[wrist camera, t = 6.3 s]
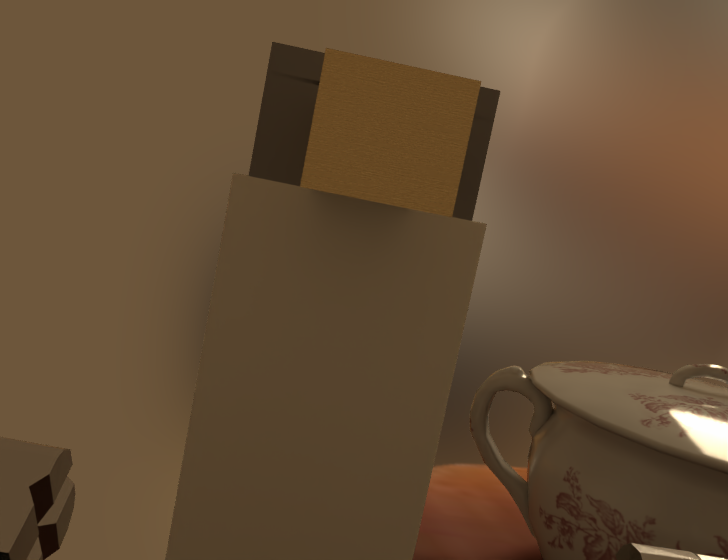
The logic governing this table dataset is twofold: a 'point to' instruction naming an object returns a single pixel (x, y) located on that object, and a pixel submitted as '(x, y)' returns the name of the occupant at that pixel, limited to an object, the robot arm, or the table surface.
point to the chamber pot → (616, 457)
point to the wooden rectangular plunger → (389, 133)
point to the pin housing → (323, 352)
